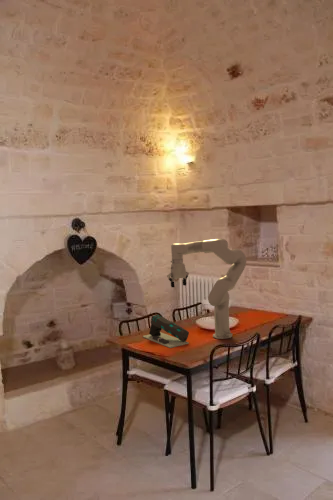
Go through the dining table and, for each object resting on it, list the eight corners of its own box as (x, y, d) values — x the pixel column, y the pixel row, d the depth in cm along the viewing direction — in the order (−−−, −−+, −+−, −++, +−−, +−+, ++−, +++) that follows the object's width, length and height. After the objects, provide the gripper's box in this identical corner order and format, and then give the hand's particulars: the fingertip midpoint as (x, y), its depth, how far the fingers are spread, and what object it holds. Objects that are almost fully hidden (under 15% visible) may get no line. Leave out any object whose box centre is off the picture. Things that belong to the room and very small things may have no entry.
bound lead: (169, 342, 306) (169, 340, 305) (164, 344, 304) (164, 341, 303) (156, 338, 318) (156, 335, 318) (152, 339, 316) (152, 336, 316)
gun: (154, 331, 329) (158, 311, 325) (185, 351, 311) (190, 330, 307) (147, 333, 325) (151, 313, 320) (179, 353, 306) (183, 332, 302)
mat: (188, 343, 304) (188, 342, 304) (170, 348, 297) (170, 346, 297) (160, 333, 333) (160, 332, 333) (142, 337, 326) (142, 335, 326)
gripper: (169, 263, 321) (171, 288, 322) (190, 260, 330) (192, 285, 331) (163, 262, 327) (165, 287, 328) (184, 259, 336) (185, 284, 338)
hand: (178, 286), depth 330 cm, fingers open, 9 cm apart
